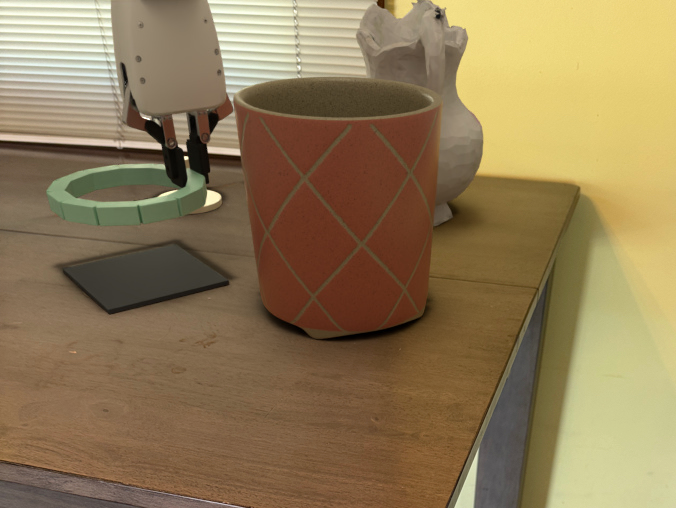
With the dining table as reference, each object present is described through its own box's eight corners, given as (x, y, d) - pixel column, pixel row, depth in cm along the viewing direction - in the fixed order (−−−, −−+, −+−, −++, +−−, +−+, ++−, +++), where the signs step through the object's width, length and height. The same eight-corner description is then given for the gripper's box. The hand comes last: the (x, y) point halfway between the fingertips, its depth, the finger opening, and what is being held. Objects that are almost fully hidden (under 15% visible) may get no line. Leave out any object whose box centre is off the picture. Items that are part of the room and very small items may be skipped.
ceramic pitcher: (508, 241, 101) (546, 17, 86) (376, 249, 94) (392, 5, 78) (433, 196, 116) (454, -2, 101) (314, 200, 108) (317, -14, 93)
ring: (85, 236, 72) (79, 217, 71) (32, 196, 82) (27, 178, 81) (232, 206, 80) (230, 188, 79) (168, 173, 89) (166, 156, 88)
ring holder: (173, 218, 102) (165, 170, 98) (146, 201, 107) (137, 155, 104) (233, 206, 106) (227, 160, 102) (204, 190, 112) (198, 146, 108)
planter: (466, 322, 79) (483, 107, 66) (300, 361, 72) (283, 127, 59) (380, 262, 92) (380, 71, 79) (230, 290, 84) (203, 84, 71)
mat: (109, 314, 79) (108, 309, 79) (63, 272, 87) (62, 268, 87) (229, 284, 85) (229, 280, 85) (176, 248, 94) (175, 244, 93)
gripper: (214, -29, 78) (237, 164, 90) (60, -24, 70) (108, 187, 82) (250, -24, 73) (269, 179, 85) (89, -17, 66) (135, 204, 78)
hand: (190, 181), depth 84 cm, fingers closed on ring, 1 cm apart
